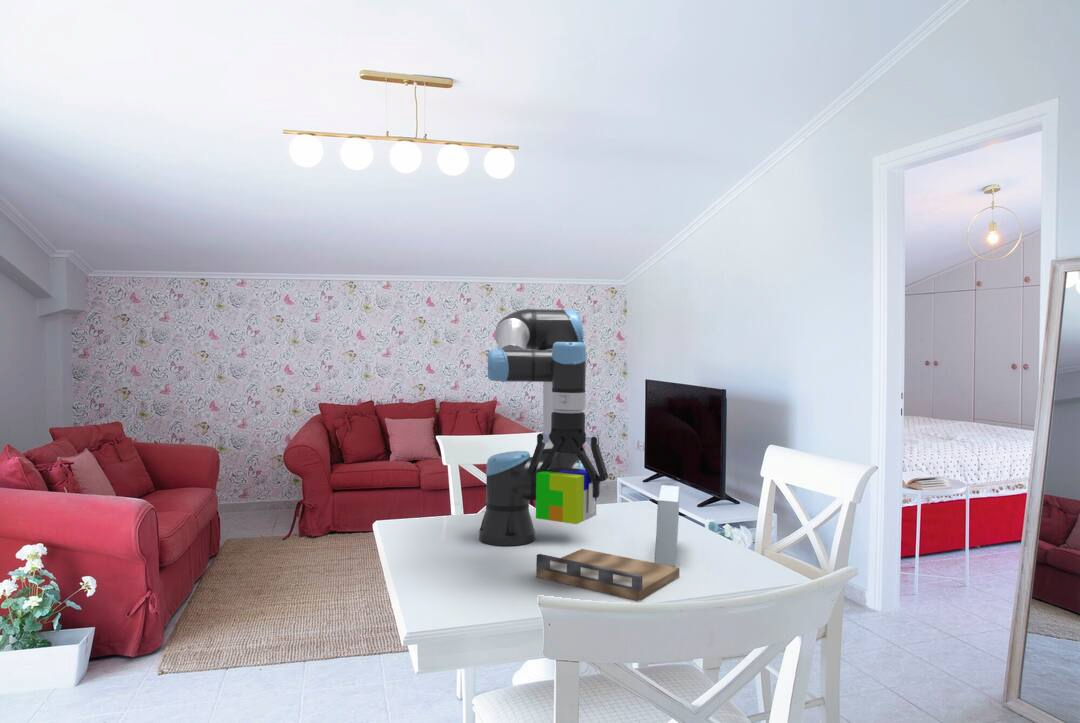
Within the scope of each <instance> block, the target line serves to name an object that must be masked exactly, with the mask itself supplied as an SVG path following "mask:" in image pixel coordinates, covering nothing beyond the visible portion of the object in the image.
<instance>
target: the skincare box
mask: <svg viewBox="0 0 1080 723" xmlns="http://www.w3.org/2000/svg"><path fill="white" fill-rule="evenodd" d="M660 486H661V487H660V490H659V493H658V499H657V513H656V530H655V531H656V533H655V534H656V535H655V548H654V560H653V561H654V562H653V563H657V564H662V565H667V566H672V567H676V566H675V565H676V558H677V549H678V548H677V547H678V545H677V544H678V533H679V518H680V516H679V514H680V486H677V485H676V486H675V485H667V484H666V485H664V484H662V485H660Z"/></svg>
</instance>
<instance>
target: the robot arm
mask: <svg viewBox="0 0 1080 723" xmlns="http://www.w3.org/2000/svg"><path fill="white" fill-rule="evenodd" d="M494 331H495V332H494V338H495V339H494V340H495V343H496V344H497V348H496V349H495V348H494V349H490V350H488V352H487V379H488V380H490V381H493V382H501V383H506V382H512V383H513V382H520V383H521V382H523V383H525V382H527V383H528V382H529V383H530V382H531V383H532V382H535V383H537V382H538V383H543V384H542V395H543V396H542V404H543V405H542V416H543V417H542V432H541V433H538V434H537V436H536V446H535V449H534V452H533V455H532V456H531V454H530V452H529V451H527V450H515V451H514V450H513V451H505V452H501V453H496V454H493V455H491V456H490V457H489V458H488V459H487V461H486V470H485V477H486V483H485V484H486V491H485V512H484V514H483V518H482V521H481V524H480V528H479V531H478V540H479V541H481V542H482V543H485V544H487V545H492V546H501V547H502V546H505V547H506V546H507V547H508V546H509V547H510V546H511V547H512V546H521V545H527V544H529V543H530V544H531V543H532V542H533V541H535V540H536V529H535V528H534V524H533V521H532V517H531V513H530V501H536V473H538V472H542V471H545V470H549V469H552V468H555V467H564V468H574V469H583V470H586V472H587V473H588V475H589V477H590V478H591V480H592V482H591V483H589V509H588V513H593V512H594V511H595V498H596V499H597V498H599V496H600V491H601V490H600V488H601V486H600V485H601V483H602V482H606V480H607V479H609V474H608V471H607V468H606V465H605V461H604V458H603V456H602V452H601V449H600V437H599V436H598V435H593V436H591V435H587V434H586V413H585V412H583V411H585V409H586V374H587V372H586V371H587V370H586V369H587V368H586V367H587V357H588V356H587V346H586V343H585V342H584V341H585V339H584V328H583V321H582V319H581V316H580V314H579V312H578V311H577V310H575V309H574V310H573V309H571V310H570V309H565V308H562V309H543V308H542V309H540V308H539V309H535V308H534V309H532V308H525V309H520V310H517V311H513V312H512V313H510V314H507V315H506V316H504V317H503V318H501V320H500V321H499V322H498V323H497V325H496V327H495V330H494ZM586 442H587V444H588V446H589V447H590V449H591V454H592V457H593V459H594V463H595V467H596V468H597V470H596V469H595V467H594V465H593V463H592V462H591V459H590V458H589V456H588V455H587V453H586V450H585V448H584V444H585V443H586ZM596 471H597V472H596Z"/></svg>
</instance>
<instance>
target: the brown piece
mask: <svg viewBox="0 0 1080 723" xmlns="http://www.w3.org/2000/svg"><path fill="white" fill-rule="evenodd" d="M535 566H536V567H535V568H536V574H535V576H536V578H540V579H543V580H548V581H552V582H557V583H561V584H565V585H569V586H574V587H578V588H583V589H587V590H592V591H596V592H599V593H603V594H609V595H613V596H617V597H621V598H626V599H630V600H633V599H634V601H637V600H640V601H642V600H644V599H645V598H647V597H649V596H650V595H652V594H653V593H654V592H657V591H659V590H660V589H661V588H663V587H665V586H666V585H668V584H670V583H671V582H674V581H675V580H676V579H678V578H680V567H676V566H667V565H662V564H657V563H654V562H651V561H646V560H641V559H636V558H630V557H626V556H621V555H616V554H611V553H606V552H601V551H596V550H592V549H591V550H590V549H585V548H580V549H579V550H576V551H574V552H571V553H569V554H567V555H565V556H562V557H556V556H553V555H547V554H542V553H538V554H536V564H535Z"/></svg>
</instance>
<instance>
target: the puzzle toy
mask: <svg viewBox="0 0 1080 723" xmlns="http://www.w3.org/2000/svg"><path fill="white" fill-rule="evenodd" d="M596 472H597V473H598V470H596ZM591 482H592V480H591V478H590V477H589V475H588V473H587V472H586V470H583V469H574V468H564V467H555V468H552V469H549V470H545V471H542V472H538V473H536V500H535V519H539V520H544V521H551V522H558V523H563V524H572V525H578V524H581V523H582V522H585V521H587V520H589V519H591V518H593V517H595V516H597V498H595V511H594V512H593V513H588V509H589V483H591Z"/></svg>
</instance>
